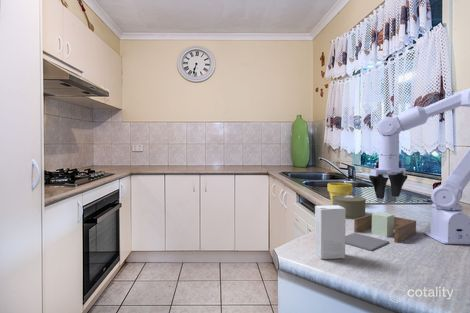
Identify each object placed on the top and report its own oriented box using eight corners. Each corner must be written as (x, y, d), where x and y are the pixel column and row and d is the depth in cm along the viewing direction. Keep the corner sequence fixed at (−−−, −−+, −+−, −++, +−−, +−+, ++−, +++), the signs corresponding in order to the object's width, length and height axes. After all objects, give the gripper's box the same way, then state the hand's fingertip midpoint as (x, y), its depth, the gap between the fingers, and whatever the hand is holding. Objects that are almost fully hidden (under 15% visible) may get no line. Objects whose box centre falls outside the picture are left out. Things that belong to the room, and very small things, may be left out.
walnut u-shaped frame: (415, 233, 88) (416, 220, 87) (397, 242, 80) (397, 228, 80) (374, 224, 97) (374, 213, 97) (354, 231, 90) (354, 219, 89)
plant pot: (328, 202, 135) (328, 181, 134) (352, 204, 131) (352, 182, 131) (326, 207, 125) (326, 184, 125) (352, 209, 121) (352, 185, 121)
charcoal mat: (389, 242, 79) (389, 241, 79) (371, 251, 73) (371, 249, 73) (354, 234, 87) (354, 232, 87) (335, 240, 81) (335, 239, 81)
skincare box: (337, 252, 72) (338, 204, 72) (346, 259, 68) (347, 208, 67) (313, 253, 72) (314, 204, 71) (320, 260, 67) (321, 208, 67)
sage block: (393, 234, 87) (394, 214, 87) (386, 237, 85) (387, 216, 84) (378, 230, 91) (379, 211, 91) (371, 233, 88) (371, 213, 88)
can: (330, 217, 108) (330, 199, 107) (333, 210, 119) (334, 194, 118) (365, 221, 103) (365, 201, 102) (365, 213, 113) (366, 196, 113)
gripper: (391, 154, 100) (391, 193, 100) (362, 155, 93) (361, 197, 94) (412, 155, 94) (411, 197, 94) (382, 155, 87) (381, 200, 88)
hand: (387, 197), depth 94 cm, fingers open, 7 cm apart
